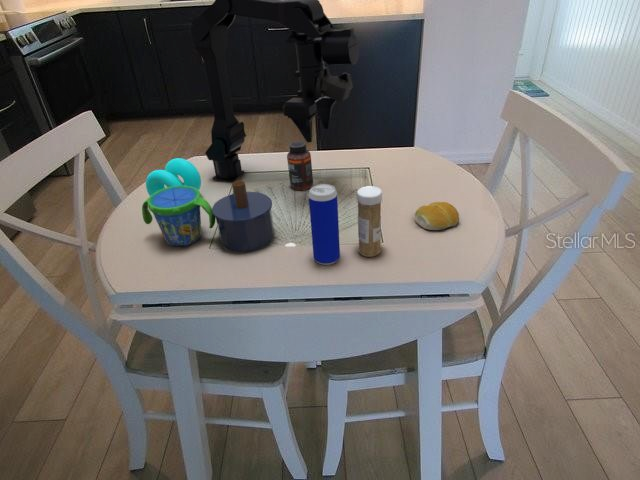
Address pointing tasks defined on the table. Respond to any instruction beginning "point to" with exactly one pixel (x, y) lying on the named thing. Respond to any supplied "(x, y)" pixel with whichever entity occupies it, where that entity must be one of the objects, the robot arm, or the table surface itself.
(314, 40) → the robot arm
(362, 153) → the table surface
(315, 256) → the beverage can
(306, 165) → the supplement bottle
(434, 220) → the bread roll
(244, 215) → the lid
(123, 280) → the table surface
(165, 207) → the snack cup
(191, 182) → the donuts
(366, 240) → the spice jar
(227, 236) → the navy blue pot
